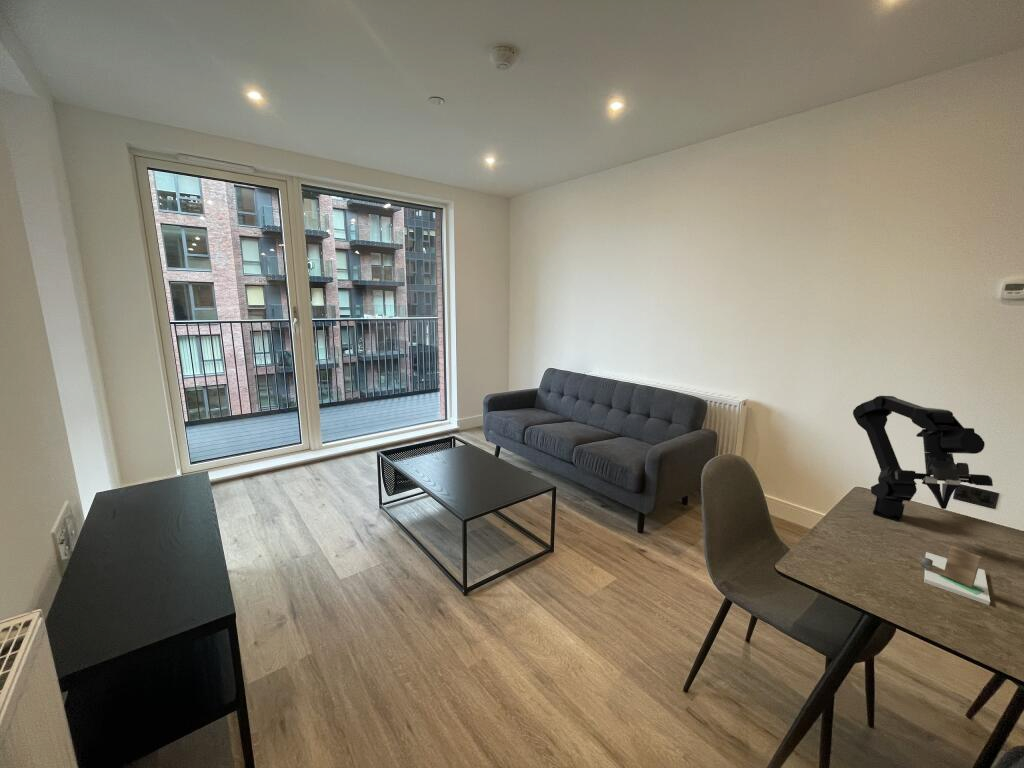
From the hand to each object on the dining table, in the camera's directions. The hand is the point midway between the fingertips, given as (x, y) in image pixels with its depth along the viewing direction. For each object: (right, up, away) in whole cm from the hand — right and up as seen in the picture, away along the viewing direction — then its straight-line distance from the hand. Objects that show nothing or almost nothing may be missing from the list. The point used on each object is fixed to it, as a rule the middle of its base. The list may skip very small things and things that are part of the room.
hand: (943, 508), depth 116 cm
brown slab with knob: (-12, -13, -13) cm, 22 cm away
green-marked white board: (-9, -14, -11) cm, 20 cm away
